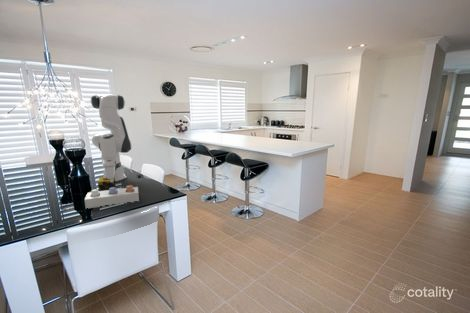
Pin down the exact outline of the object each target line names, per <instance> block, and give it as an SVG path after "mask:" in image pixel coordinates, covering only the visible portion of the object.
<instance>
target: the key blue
mask: <svg viewBox="0 0 470 313" xmlns="http://www.w3.org/2000/svg"><path fill="white" fill-rule="evenodd" d="M116 189H117V186H116V187H112V188H109V192H110V194H117V192H116Z"/></svg>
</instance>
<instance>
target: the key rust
mask: <svg viewBox="0 0 470 313" xmlns="http://www.w3.org/2000/svg"><path fill="white" fill-rule="evenodd" d="M133 187H134V186H133V185H132V184H129V185H126V186H125V188H126V189H127V192H133Z"/></svg>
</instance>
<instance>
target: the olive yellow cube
mask: <svg viewBox="0 0 470 313" xmlns="http://www.w3.org/2000/svg"><path fill="white" fill-rule="evenodd" d="M97 186H98V188H97V189H98V190H99V191H106V190H109V188H112V187H116V188H117V184H116V181H115V176H114V181H113V182H110V179H107V177H104V176H102V177H100V176H99V179H98V180H97Z"/></svg>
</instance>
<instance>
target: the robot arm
mask: <svg viewBox="0 0 470 313" xmlns="http://www.w3.org/2000/svg"><path fill="white" fill-rule="evenodd" d="M124 98H125V97H123V96H122V95H119V94H118V95H115V94H111V93H105V94H104V93H102V94H101V93H100V94H99V93H95V94H92V95H91V97H90V104H91V106H92V107H93V109H97V110H99V113H98V114H99V118H100V120H101V126H102V127H103V128H104V129H106V130H109V131H110V132H105V133H104V132H101V133H100V132H99V133H97V134H93V136H92V137H91V138H92V139H91V142H92V144H93V146H94V147H96V148H98V149H99V151H100V152H101V164H102V166H103V168H104V169H103V170H102V171H103V177H107V179H110V182H113V181H114V176H115V182H118V181H121V180H124V179H126V178H127V175H126V174H125V172H124V168H123V167H122V162H121V157H120V156H121V154H120V153H122V154H123V153H124V154H127V153H129V152H130V151H131V150H132V142H131V140H130V138H129V134H128V130H127V126H126V123H125V120H124V118H123V117H122V116H120V114H119V113H118V111H120V110H123V109H124V107H125V106H126V101H125V99H124Z"/></svg>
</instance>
